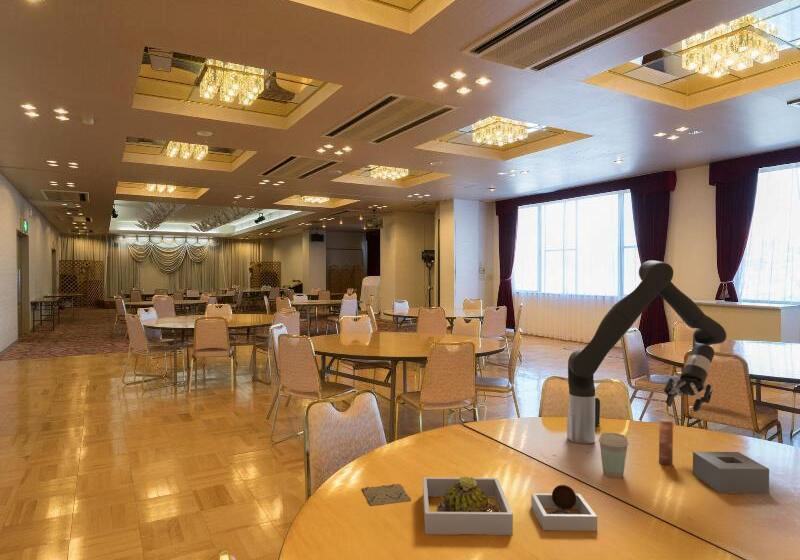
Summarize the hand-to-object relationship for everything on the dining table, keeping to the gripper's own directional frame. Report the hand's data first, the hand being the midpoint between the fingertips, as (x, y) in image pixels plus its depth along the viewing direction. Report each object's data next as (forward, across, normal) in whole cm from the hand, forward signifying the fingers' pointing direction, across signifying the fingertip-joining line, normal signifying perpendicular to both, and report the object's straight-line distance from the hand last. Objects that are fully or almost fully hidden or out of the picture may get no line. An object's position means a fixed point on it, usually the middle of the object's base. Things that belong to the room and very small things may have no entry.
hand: (681, 407), depth 179 cm
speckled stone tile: (+81, -39, -57) cm, 107 cm away
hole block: (+21, +19, +2) cm, 29 cm away
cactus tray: (+74, -17, -51) cm, 92 cm away
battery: (+6, -39, +18) cm, 44 cm away
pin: (+20, 0, +4) cm, 20 cm away
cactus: (+74, -16, -50) cm, 91 cm away
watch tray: (+62, +1, -39) cm, 73 cm away
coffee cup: (+36, -6, -12) cm, 38 cm away
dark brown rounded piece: (+62, +2, -38) cm, 72 cm away
